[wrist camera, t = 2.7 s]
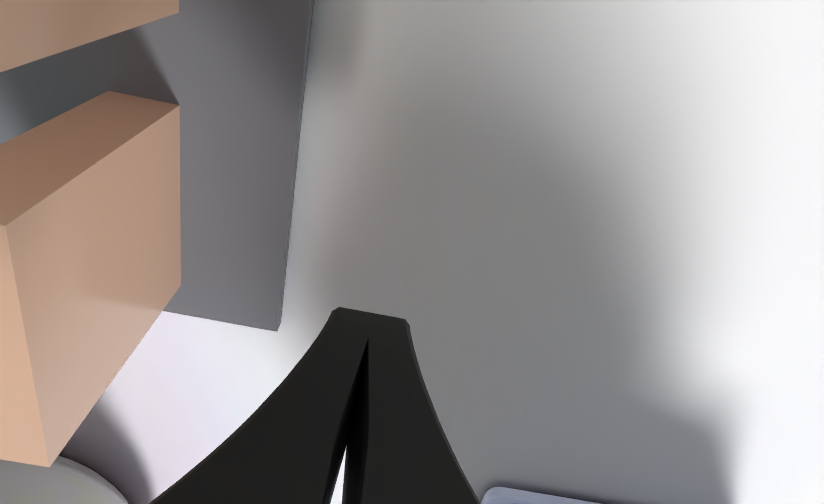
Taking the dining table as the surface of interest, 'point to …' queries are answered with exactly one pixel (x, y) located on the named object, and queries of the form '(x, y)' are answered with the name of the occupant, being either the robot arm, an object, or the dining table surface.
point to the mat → (203, 135)
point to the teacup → (55, 484)
